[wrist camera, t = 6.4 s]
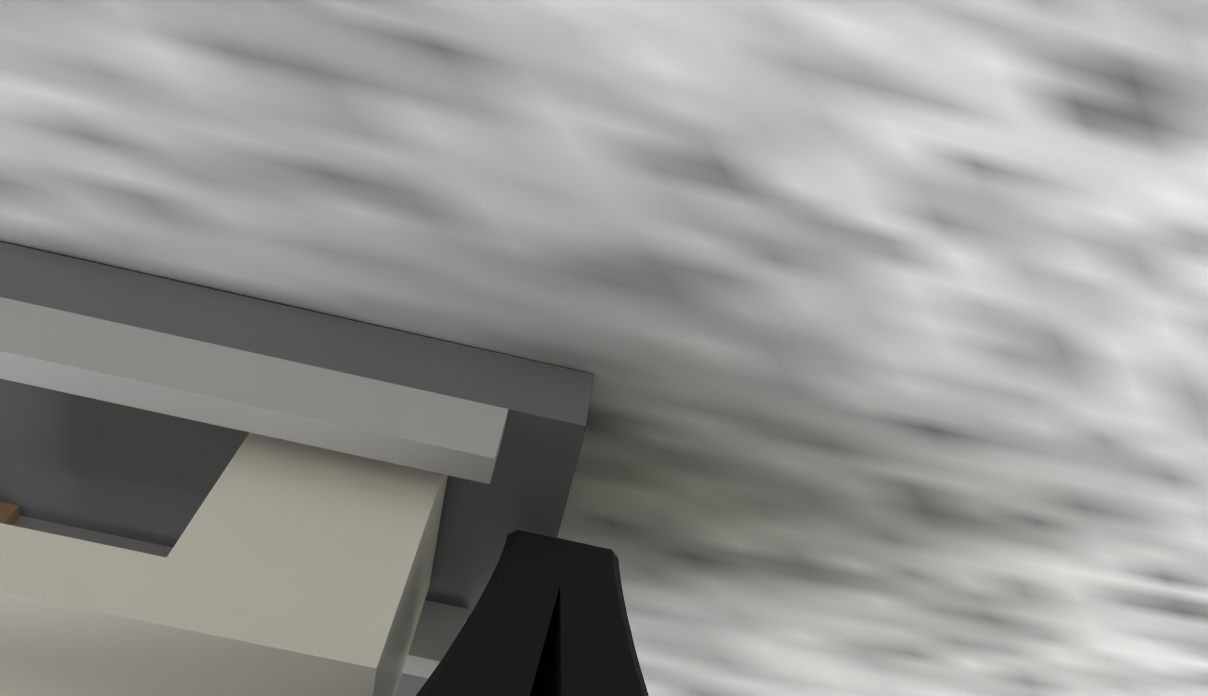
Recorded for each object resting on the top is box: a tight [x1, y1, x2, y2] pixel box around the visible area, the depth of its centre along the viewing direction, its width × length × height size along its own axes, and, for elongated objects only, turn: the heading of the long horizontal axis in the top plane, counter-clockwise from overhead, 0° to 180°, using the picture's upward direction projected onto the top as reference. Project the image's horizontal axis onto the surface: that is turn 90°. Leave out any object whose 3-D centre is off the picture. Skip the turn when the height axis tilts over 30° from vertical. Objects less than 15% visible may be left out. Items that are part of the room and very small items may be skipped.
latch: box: [0, 432, 448, 696], centre depth 11 cm, size 3×5×4 cm, turn 78°
